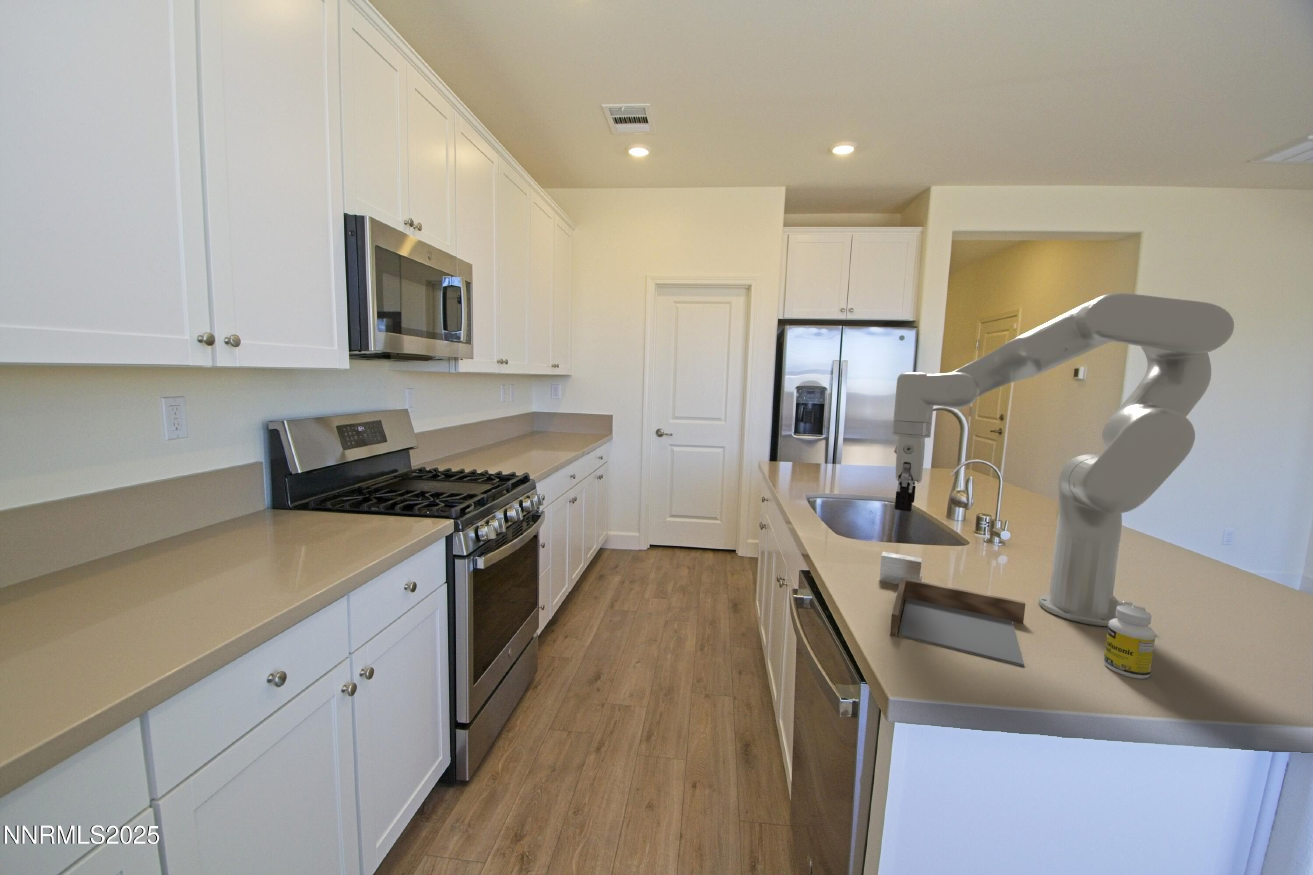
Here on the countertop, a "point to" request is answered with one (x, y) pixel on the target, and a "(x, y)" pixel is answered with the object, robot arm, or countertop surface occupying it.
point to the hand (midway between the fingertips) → (904, 506)
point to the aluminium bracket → (899, 567)
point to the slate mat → (961, 631)
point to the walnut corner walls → (955, 601)
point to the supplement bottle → (1130, 643)
